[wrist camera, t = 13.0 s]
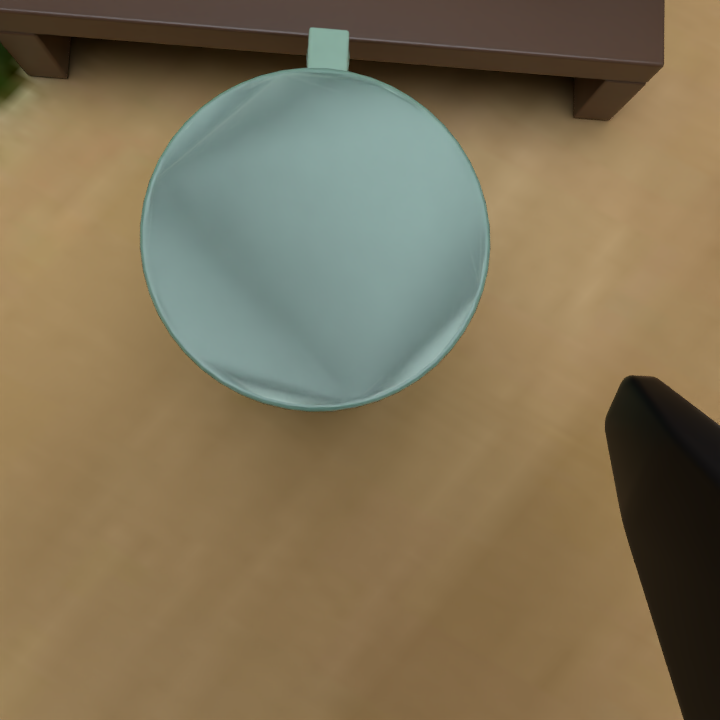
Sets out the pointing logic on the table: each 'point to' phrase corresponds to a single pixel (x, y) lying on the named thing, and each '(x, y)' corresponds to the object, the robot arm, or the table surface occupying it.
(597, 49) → the shelf
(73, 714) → the table surface
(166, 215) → the green mug
